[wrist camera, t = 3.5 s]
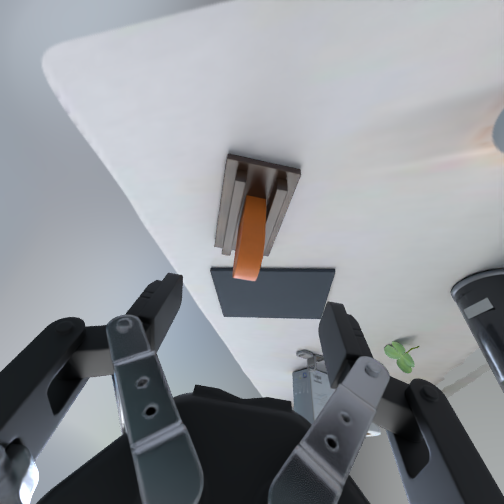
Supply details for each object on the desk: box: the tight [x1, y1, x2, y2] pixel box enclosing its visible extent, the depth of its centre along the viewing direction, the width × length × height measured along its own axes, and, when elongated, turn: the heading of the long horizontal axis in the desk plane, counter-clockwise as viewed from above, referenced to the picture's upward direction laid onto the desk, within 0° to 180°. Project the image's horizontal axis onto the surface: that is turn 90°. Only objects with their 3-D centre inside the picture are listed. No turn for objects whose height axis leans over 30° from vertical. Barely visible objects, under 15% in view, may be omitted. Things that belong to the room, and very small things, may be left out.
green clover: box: [384, 342, 419, 373], centre depth 60 cm, size 7×8×7 cm
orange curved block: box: [232, 195, 266, 281], centre depth 29 cm, size 6×2×9 cm, turn 168°
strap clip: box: [296, 350, 324, 372], centre depth 68 cm, size 8×3×4 cm, turn 55°
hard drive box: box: [292, 368, 336, 424], centre depth 76 cm, size 16×8×20 cm, turn 51°
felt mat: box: [210, 268, 335, 319], centre depth 47 cm, size 20×16×1 cm
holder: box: [214, 154, 301, 259], centre depth 32 cm, size 14×8×3 cm, turn 168°
